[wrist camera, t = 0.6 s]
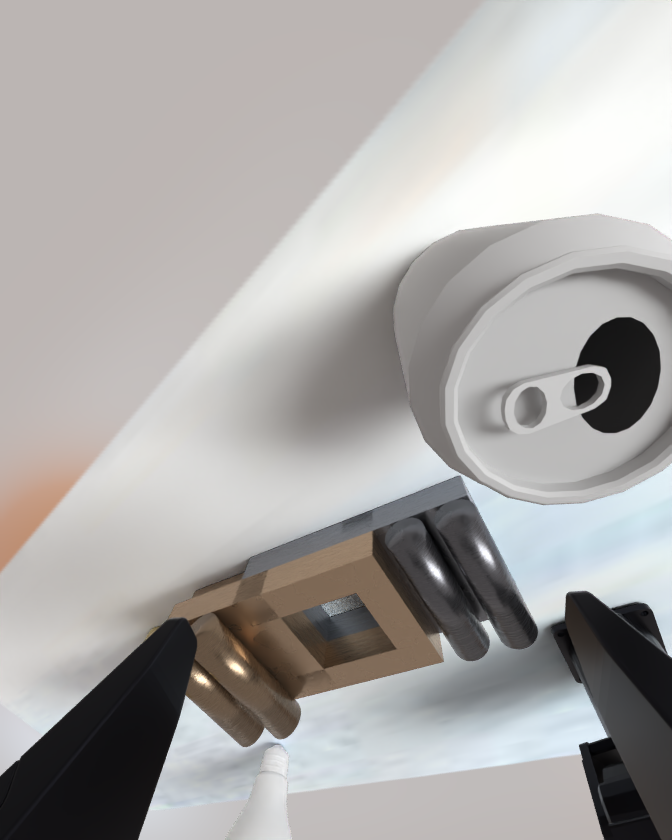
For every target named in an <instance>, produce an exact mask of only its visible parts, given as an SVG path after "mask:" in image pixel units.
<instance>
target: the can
mask: <svg viewBox="0 0 672 840" xmlns="http://www.w3.org/2000/svg"><path fill="white" fill-rule="evenodd" d="M393 317H394V333H395V338H396V343H397V347H398V352H399V356H400V361H401V366H402V370H403V375H404V379H405V384H406V389H407V393H408V398H409V402H410V407H411V409H412V412H413V414H414V416H415V419H416V421H417V424H418V426H419V428H420V431H421V433H422V435H423V438H424V440H425V442H426V443H427V444H428V445H429V446H430V447H431V448H432V449H433V450H434V451H435V452H436V453H437V454H438V456H439V457H440V458H441V459H442V460H443V461H444V462H445V463H446V464H447V465H448V466H449V467H450V468H452V469H454V470H456V471H458V472H459V473H461V474H463V475H465V476H467V477H469V478H470V479H472V480H474V481H476V482H478V483H480V484H482V485H485V486H487V487H488V488H490V489H492V490H494V491H496V492H498V493H500V494H501V495H503V496H505V497H507V498H512V499H517V500H522V501H527V502H531V503H536V504H541V505H552V504H574V503H585V502H588V501H592V500H596V499H599V498H603V497H606V496H610V495H613V494H617V493H621V492H624V491H626V490H628V489H629V488H631V487H633V486H635V485H637V484H639V483H641V482H642V481H644V480H646V479H648V478H650V477H652V476H654V475H656V474H657V473H659V472H661V471H663V470H664V469H665V468H666V467H668V466H669V465H670V464H671V463H672V240H671V239H670V238H668V237H667V236H665V235H664V234H663V233H661V232H660V231H658V230H657V229H655V228H654V227H653V226H651V225H650V224H645V223H641V222H636V221H631V220H626V219H621V218H617V217H612V216H607V215H602V214H590V215H581V216H572V217H564V218H555V219H547V220H538V221H530V222H521V223H513V224H504V225H495V226H487V227H480V228H472V229H465V230H459V231H457V232H455V233H452V234H450V235H448V236H446V237H444V238H442V239H440V240H438V241H436V242H434V243H433V244H432V245H431V246H429V247H428V248H427V249H426V250H425V251H424V252H423V253H422V254H421V255H420V256H419V257H418V258H416V259H415V260H414V261H413V263H412V264H411V266H410V268H409V269H408V271H407V273H406V274H405V276H404V278H403V279H402V281H401V283H400V284H399V288H398V292H397V296H396V300H395V304H394V308H393Z"/></svg>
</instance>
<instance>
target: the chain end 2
mask: <svg viewBox="0 0 672 840" xmlns="http://www.w3.org/2000/svg"><path fill="white" fill-rule="evenodd" d="M370 531H373V532H374V534H375V535H376V537H377V538H378V540H379V541H380V543H381V545H382V546H383V548H384V549H385V551H386V552H387V554H388V555H389V557H390V558H391V560H392V561H393V563H394V564H395V566H396V568H397V569H398V571H399V572H400V574H401V575H402V577H403V578H404V580H405V581H406V583H407V584H408V586H409V588H410V589H411V591H412V592H413V594H414V595H415V597H416V598H417V600H418V601H419V603H420V604H421V606H422V608H423V609H424V611H425V612H426V614H427V615H428V617H429V618H430V620H431V621H432V623H433V624H434V626H435V628H436V629H437V631H438V632H439V633H442V632H443V634H444V635H445V637H446V638H447V640H448V642H449V643H450V645H451V646H452V648H453V649H454V651H455V652H456V654H457V655H458V656H459V657H460V658H462V659H463V660H466V661H475V660H478V659H480V658H482V657H483V656H484V655H485V654H486V653H487V651H488V649H489V645H490V640H489V636H488V634H487V632H486V631H485V629H484V627H483V625H482V624H481V622H482V621H485V620H489V621H490V622H491V624H492V626H493V628H494V629H495V631H496V633H497V635H498V636H499V638H500V640H501V641H502V642H503V643H504V644H505V645H506V646H508V647H510V648H513V649H524V648H527V647H529V646H530V645H532V644H533V643H534V642H535V640H536V638H537V634H538V629H537V626H536V623H535V622H534V620H533V618H532V616H531V614H530V612H529V610H528V608H527V606H526V604H525V602H524V600H523V598H522V596H521V594H520V592H519V590H518V588H517V586H516V583H515V581H514V580H513V578H512V576H511V574H510V572H509V570H508V568H507V566H506V564H505V562H504V560H503V558H502V556H501V554H500V552H499V550H498V548H497V546H496V544H495V542H494V540H493V538H492V536H491V535H490V533H489V531H488V529H487V527H486V525H485V523H484V521H483V519H482V517H481V515H480V513H479V511H478V509H477V507H476V505H475V503H474V501H473V499H472V497H471V495H470V493H469V491H468V489H467V488H466V486H465V484H464V482H463V480H462V478H461V476H458V477H455V478H452V479H450V480H447V481H445V482H442V483H440V484H437V485H435V486H432V487H429V488H427V489H424V490H422V491H419V492H417V493H414V494H412V495H409V496H407V497H404V498H401V499H399V500H396V501H394V502H391V503H389V504H386V505H384V506H381V507H378V508H376V509H373V510H371V511H368V512H366V513H363V514H361V515H358V516H356V517H353V518H350V519H348V520H345V521H343V522H340V523H338V524H335V525H333V526H330V527H327V528H325V529H322V530H320V531H317V532H315V533H312V534H310V535H307V536H304V537H302V538H299V539H297V540H294V541H292V542H289V543H287V544H284V545H282V546H279V547H276V548H274V549H271V550H269V551H266V552H264V553H261V554H259V555H256V556H253V557H251V558H250V559H249V562H248V564H247V567H246V569H245V572H244V575H243V577H242V579H245V578H248V577H250V576H253V575H256V574H258V573H261V572H264V571H266V570H269V569H272V568H274V567H277V566H280V565H282V564H285V563H288V562H290V561H293V560H296V559H298V558H301V557H304V556H306V555H309V554H312V553H314V552H317V551H320V550H322V549H325V548H328V547H330V546H333V545H336V544H338V543H341V542H344V541H346V540H349V539H352V538H354V537H357V536H360V535H362V534H365V533H368V532H370ZM302 612H303V613H304V614H305V615H306V616H307V618H308V619H309V620H310V621H311V623H312V624H313V625H314V626H315V627H316V629H317V630H318V631H319V632H320V634H321V635H322V636H323V637H324V639H325V640H326V641H330V640H334V639H337V638H341V637H344V636H347V635H351V634H354V633H358V632H361V631H364V630H368V629H371V628H374V627H378V626H380V625H379V624H378V623H377V621H376V620H375V618H374V617H373V616H372V614H371V613H370V611H369V610H368V609H367V607H366V606H364V607H361V608H358V609H354V610H351V611H348V612H345V613H342V614H339V615H335V616H332V617H329V616H328V614H327V613H326V612H325V611H324V609H323V608H322V607H321V605H318V606H315V607H312V608H309V609H306V610H303V611H302Z"/></svg>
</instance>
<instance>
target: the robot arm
mask: <svg viewBox="0 0 672 840" xmlns="http://www.w3.org/2000/svg"><path fill="white" fill-rule="evenodd" d="M565 622H566V623H563V624H559V625H555V626H553V627H552V629H551V631H552V634H553V636H554V638H555V640H556V642H557V644H558V646H559V648H560V650H561V652H562V654H563V656H564V658H565V660H566V662H567V664H568V666H569V668H570V670H571V672H572V674H573V676H574V678H575V680H576V682H578V683H583V685H584V687H585V689H586V692H587V694H588V696H589V698H590V700H591V702H592V704H593V707H594V709H595V711H596V713H597V715H598V717H599V719H600V721H601V724H602V726H603V728H604V730H605V732H606V734H607V736H608V738H605V739H601V740H598V741H595V742H592V743H588V742H586V743H583V744H580V745H579V747H580V751H581V755H582V758H583V760H582V762H583V766H584V770H585V773H586V777H587V781H588V784H589V788H590V792H591V795H592V799H593V802H594V806H595V809H596V813H597V816H598V820H599V824H600V827H601V831H602V834H603V837H604V840H672V658H671V657H670V656H669V655H668V654H667V651H666V649H665V646H664V643H663V640H662V637H661V634H660V631H659V628H658V626H657V623H656V620H655V617H654V614H653V611H652V610H651V609H650V607H649V606H648V605H647V604H644V603H641V604H636V605H632V606H629V607H625V608H621V609H617V610H611V609H610V608H609V607H608V606H606V605H605V604H604V603H603V602H601V601H600V600H599V599H598V598H596V597H595V596H594V595H593V594H591V593H590V592H587V591H574V592H568V593H567V595H566V607H565ZM196 651H197V637H196V635H195V633H194V631H193V629H192V627H191V626H190V624H189V622H188V620H187V619H186V618H185V617H175V618H170V619H168V620H167V621H165V622H164V623H163V624H162V625H161V626H160V627H159V628H158V629H157V630H156V631H155V632H154V633H153V634H152V635H150V636H149V637H148V638H147V639H146V640H145V641H144V642H143V643H142V644H141V645H140V646H139V647H138V648H137V649H136V650H134V651H133V652H132V653H131V654H130V655H129V656H128V657H127V658H126V659H125V660H124V661H123V662H122V663H121V664H120V665H118V666H117V667H116V668H115V669H114V670H113V671H112V672H111V673H110V674H109V675H108V676H107V677H106V678H105V679H104V680H102V681H101V682H100V683H99V684H98V685H97V686H96V687H95V688H94V689H93V690H92V691H91V692H90V693H89V694H88V695H86V696H85V697H84V698H83V699H82V700H81V701H80V702H79V703H78V704H77V705H76V706H75V707H74V708H73V709H72V710H70V711H69V712H68V713H67V714H66V715H65V716H64V717H63V718H62V719H61V720H60V721H59V722H58V723H57V724H56V725H54V726H53V727H52V728H51V729H50V730H49V731H48V732H47V733H46V734H45V735H44V736H43V737H42V738H41V739H39V740H38V741H37V742H36V743H35V744H34V745H33V746H32V747H31V748H30V749H29V750H28V751H27V752H26V753H25V754H24V755H22V756H21V758H20V760H18V761H16V762H15V763H14V764H13V765H12V766H11V767H9V768H8V769H7V770H6V771H5V772H4V773H3V774H2V775H1V776H0V840H138V838H139V835H140V832H141V829H142V826H143V824H144V821H145V817H146V815H147V812H148V809H149V806H150V803H151V800H152V797H153V794H154V791H155V788H156V785H157V782H158V780H159V777H160V774H161V771H162V768H163V765H164V762H165V759H166V756H167V753H168V750H169V747H170V744H171V741H172V738H173V736H174V733H175V730H176V727H177V723H178V720H179V717H180V714H181V710H182V707H183V703H184V699H185V695H186V691H187V687H188V683H189V679H190V675H191V671H192V667H193V663H194V659H195V655H196Z"/></svg>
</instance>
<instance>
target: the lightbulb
mask: <svg viewBox="0 0 672 840" xmlns="http://www.w3.org/2000/svg"><path fill="white" fill-rule="evenodd" d="M288 763H289V755H288V753H287V752H286V751H285V750H284V749H283V747H282V746H281V745H274V746H273V747H271V748H268V749H267V750H266V751H265V752H264V756H263V760H262V763H261V767H260V771H259V774H258V775H257V776H256V778H255V782H254V785H253V789H252V792H251V794H250V797H249V800H248V802H247V804H246V806H245V807H244V809H243V811H242V813H241V814H240V815H239V817H238V818H237V820H236V821H235V823H234V824H233V826H232V828H231V829H230V831H229V832H228V834H227V836H226V838H225V840H292V836H291V831H290V827H289V823H288V816H287V790H288V782H287V772H288Z"/></svg>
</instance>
